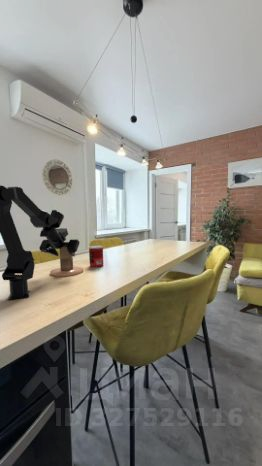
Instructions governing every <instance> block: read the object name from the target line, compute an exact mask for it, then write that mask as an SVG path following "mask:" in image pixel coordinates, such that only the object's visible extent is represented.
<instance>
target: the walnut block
mask: <svg viewBox="0 0 262 466" xmlns="http://www.w3.org/2000/svg"><path fill="white" fill-rule="evenodd" d="M68 252H69V251H68V250H67V247H62V248H61V249H59V263H60V265H59V266H60V267H59V268H61V271H70V270H73V267H74V261H73V260H74V259H73V257H74V256H72V255H71V254H70V253H68Z"/></svg>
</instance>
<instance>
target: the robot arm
mask: <svg viewBox="0 0 262 466" xmlns="http://www.w3.org/2000/svg"><path fill="white" fill-rule="evenodd" d="M13 203H14V204H15V205H16V206H17V207H18V208H19V209H20V210H22V211H23V212H24V214H25V215H27V216H28V217H29V221H30V223H31V224H32V226H33V227H34V228H36V229H40V228H41V230H40V234H39V237H40V238H41V237H42V238H46V239H43V240H42V241H41V244H40V245H39V248H38V249H39V251H40V252H41V253H46V254H49V255H52V256H55V257H59V256H60V253H59V252H58V251H57V250H60V249H61V248H62V247H67V250H68V251H69V252H68V253H70V254H71V255H72V256H73V257H76V253H77V252H78V248H79V247H80V240H79V239H73V238H72V239H69V241H67V236H68V235H69V232H68V229H67V228H64V227H62V228H60V227H61V225H62V223H63V221H64V219H65V216H64V214H63V213H62V212H60V211H58V210H57V209H52V210H51V212H50V213H49V212H47V211H45V210H43V209H41V208H39V207H38V206H37V204H35V202H34V201H33V200H32V199H31V198H30V197H29V196H28V195H27V194H26V193H25V192H24V189H23V188H22V187H20V186H7V187H5V186H4V185H1V184H0V236H1V238H2V239H1V240H2V241H3V243H4V246H5V248H6V252H7V258H6V260H5V261H6V267H5V269H4V271H3V273H2V274H1V278H2V280H3V281H8V282H9V295H8V298H7V300H8V301H10V300H11V301H13V300H18V299H24V298H29V297H30V294H31V293H30V292H31V290H29V286H28V281H29V280H31V279H33V277H34V272H35V259H34V257H33V253H32V251H31V250H25V249H24V246H23V244H22V241H21V237H20V236H19V233H18V230H17V227H16V224H15V222H14V219H13V216H12V214H11V209H12V206H13Z"/></svg>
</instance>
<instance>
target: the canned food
mask: <svg viewBox="0 0 262 466" xmlns="http://www.w3.org/2000/svg"><path fill="white" fill-rule="evenodd" d="M88 251H89V252H88V256H89V267H90V268H100V267H103V266H104V247H103V245H91V246H89V247H88Z"/></svg>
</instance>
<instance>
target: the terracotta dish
mask: <svg viewBox="0 0 262 466" xmlns="http://www.w3.org/2000/svg"><path fill="white" fill-rule="evenodd" d="M83 272H84V268H83V267H82V266H73V270H70V271H61V268H60V267H57V268H53V269H51V270H50V272H49V273H50V274H51V276H52V277H59V278H61V277H63V278H65V277H72V276H77V275H80V274H82V273H83Z"/></svg>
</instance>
